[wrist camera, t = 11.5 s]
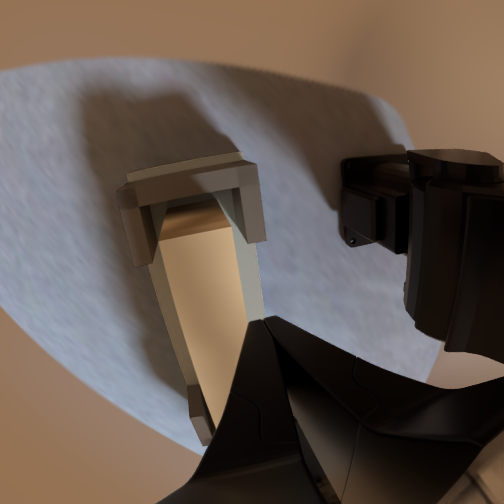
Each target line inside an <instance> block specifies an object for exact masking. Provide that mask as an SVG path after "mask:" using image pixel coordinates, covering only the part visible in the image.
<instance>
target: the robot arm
mask: <svg viewBox="0 0 504 504" xmlns="http://www.w3.org/2000/svg"><path fill="white" fill-rule="evenodd" d="M407 160H409V162H408V161H407ZM348 162H349V163H350V167H349V168H347V163H348ZM341 174H342V189H341V207H342V223H343V224H344V228H345V243H346V244H347V245H348V246H349V247H358V246H362V245H367V244H371V243H375V242H377V243H378V244H380V245H382V246H383V247H385V248H387V249H388V250H390V251H392V252H393V253H395V254H403V255H405V256H407V270H406V282H404V304H405V309H406V311H407V312H408V314H409V315H410V316H411V317H412V319H413V320H414V321H415V327H416V329H418V330H419V331H420V332H422V333H424V334H425V335H427V336H429V337H431V338H433V339H436V340H438V341H442V342H445V346H444V351H446V352H467V353H473V354H479V355H482V356H485V357H488V358H490V359H493V360H495V361H498V362H500V363H503V364H504V163H503V162H501V161H500V160H498V159H496V158H495V157H494V156H492V155H490V154H489V153H486V152H480V151H472V150H463V149H426V150H407V153H406V154H389V155H375V156H362V157H351V158H345V159H343V160H342V162H341ZM352 238H354V240H353V242H350V241H351V239H352ZM292 411H293V413H294V415H295V417H296V419H297V421H298V423H299V425H300V427H301V429H302V431H303V433H304V435H305V436H306V438H307V440H308V442H309V444H310V446H311V448H312V450H313V452H314V453H315V455H316V457H317V459H318V461H319V463H320V465H321V466H322V468H323V470H324V472H325V474H326V476H327V478H328V479H329V481H330V483H331V485H332V487H333V488H334V490H335V492H336V494H337V496H338V498H339V499H340V501H342V502H341V503H342V504H504V376H503V377H500V378H497V379H494V380H490V381H487V382H483V383H480V384H476V385H472V386H469V387H465V388H460V389H443V388H439V387H435V386H432V385H429V384H426V383H423V382H420V381H417V380H414V379H411V378H408V377H405V376H402V375H399V374H396V373H393V372H391V371H388V370H385V369H383V368H380V367H378V366H376V365H374V364H371V363H369V362H367V361H365V360H363V359H361V358H359V357H356V356H355V355H352V354H350V353H348V352H346V351H344V350H342V349H340V348H338V347H336V346H334V345H332V344H330V343H328V342H326V341H324V340H323V339H321V338H319V337H317V336H315V335H313V334H311V333H309V332H307V331H305V330H303V329H301V328H299V327H297V326H295V325H293V324H292V323H290V322H288V321H286V320H284V319H282V318H280V317H278V316H270V317H266V318H264V319H263V320H262V319H258V320H253V321H249V323H248V325H247V329H246V333H245V337H244V340H243V344H242V348H241V351H240V355H239V359H238V363H237V366H236V370H235V374H234V377H233V381H232V384H231V388H230V393H229V395H228V398H227V402H226V405H225V408H224V411H223V414H222V417H221V419H220V422H219V424H218V426H217V429H216V431H215V433H214V435H213V437H212V439H211V441H210V443H209V445H208V447H207V449H206V451H205V453H204V455H203V457H202V459H201V461H200V463H199V466H198V467H197V469H196V471H195V472H194V474H193V475H192V477H191V478H190V479H189V480H188V482H187V483H185V484H184V485H183V486H182V487H180V488H179V489H177V490H176V491H174V492H173V493H171V494H170V495H168V496H167V497H165V498H164V499H162V500H161V501H159V502H157V503H156V504H327V503H326V501H325V499H324V497H323V496H322V494H321V492H320V490H319V488H318V486H317V484H316V482H315V480H314V478H313V476H312V474H311V472H310V470H309V468H308V466H307V464H306V462H305V459H304V456H303V452H302V449H301V445H300V441H299V437H298V433H297V429H296V425H295V421H294V417H293V413H292Z"/></svg>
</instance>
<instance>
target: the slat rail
mask: <svg viewBox="0 0 504 504" xmlns="http://www.w3.org/2000/svg"><path fill="white" fill-rule="evenodd" d="M127 179H128V183H127V184H125V185H124V186H123V187H121V188H120V189H118V190H117V191H116V196H117V200H118V205H119V209H120V214H121V218H122V222H123V226H124V230H125V234H126V238H127V242H128V245H129V249H130V253H131V256H132V260H133V264H134V267H138V266H143V265H148V268H149V272H150V275H151V279H152V282H153V286H154V289H155V293H156V296H157V299H158V303H159V306H160V309H161V312H162V315H163V319H164V322H165V325H166V328H167V331H168V334H169V337H170V340H171V343H172V346H173V349H174V351H175V354H176V357H177V360H178V363H179V365H180V368H181V371H182V374H183V376H184V379H185V382H186V384H187V391H188V404H189V416H190V420H191V422H192V424H193V426H194V429H195V431H196V433H197V435H198V437H199V439H200V441H201V443H202V445H203V446H208V445H209V443H210V441H211V439H212V437H213V435H214V433H215V431H216V427H215V424H214V422H213V419H212V416H211V414H210V411H209V408H208V406H207V403H206V400H205V397H204V395H203V392H202V389H201V386H200V383H199V380H198V377H197V374H196V371H195V368H194V365H193V362H192V359H191V356H190V353H189V350H188V347H187V344H186V340H185V337H184V334H183V331H182V327H181V324H180V321H179V317H178V314H177V310H176V307H175V303H174V300H173V296H172V293H171V289H170V285H169V281H168V278H167V274H166V270H165V266H164V262H163V258H162V254H161V250H160V246H159V242H158V241H159V237H160V233H161V229H162V225H163V221H164V218H165V214H166V210H167V208H170V207H175V206H180V205H185V204H190V203H195V202H200V201H206V200H211V199H217V201H218V203H219V205H220V206H221V208H222V210H223V212H224V214H225V216H226V217H227V219H228V221H229V223H230V225H231V226H232V232H233V238H234V244H235V250H236V257H237V263H238V269H239V275H240V281H241V287H242V293H243V299H244V305H245V311H246V316H247V322H248V323H249V321H253V320H258V319H262V320H263V319H264V318H266V317H265V310H264V302H263V295H262V288H261V280H260V273H259V266H258V258H257V251H256V244H255V243H257V242H262V241H267V239H266V231H265V223H264V215H263V208H262V200H261V192H260V184H259V177H258V169H257V164H256V163H252V162H249V161H246V160H244V158H243V152H240V151H239V152H233V153H226V154H220V155H214V156H208V157H203V158H197V159H192V160H186V161H181V162H176V163H171V164H166V165H162V166H157V167H152V168H148V169H144V170H139V171H135V172H131V173H128V174H127Z"/></svg>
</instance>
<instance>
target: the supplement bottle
mask: <svg viewBox="0 0 504 504" xmlns="http://www.w3.org/2000/svg"><path fill="white" fill-rule="evenodd" d="M294 421H295V425H296V429H297V433H298V437H299V441H300V445H301V449H302V452H303V456H304V459H305V462H306V464H307V466H308V468H309V470H310V472H311V474H312V476H313V478H314V480H315V482H316V484H317V486H318V488H319V490H320V492H321V494H322V496H323V497H324V499H325V501H326V503H327V504H342V503H341V502H342V501H340V499H339V498H338V496H337V494H336V492H335V490H334V488H333V487H332V485H331V483H330V481H329V479H328V478H327V476H326V474H325V472H324V470H323V468H322V466H321V465H320V463H319V461H318V459H317V457H316V455H315V453H314V452H313V450H312V448H311V446H310V444H309V442H308V440H307V438H306V436H305V435H304V433H303V431H302V429H301V427H300V425H299V423H298V421H297V419H296V418H294Z"/></svg>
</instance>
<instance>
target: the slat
mask: <svg viewBox="0 0 504 504" xmlns="http://www.w3.org/2000/svg"><path fill="white" fill-rule="evenodd" d="M158 242H159V246H160V250H161V254H162V258H163V262H164V266H165V270H166V274H167V278H168V281H169V285H170V289H171V293H172V296H173V300H174V303H175V307H176V310H177V314H178V317H179V321H180V324H181V327H182V331H183V334H184V337H185V340H186V344H187V347H188V350H189V353H190V356H191V359H192V362H193V365H194V368H195V371H196V374H197V377H198V380H199V383H200V386H201V389H202V392H203V395H204V397H205V400H206V403H207V406H208V408H209V411H210V414H211V416H212V419H213V422H214V424H215V427H216V429H217V426H218V424H219V422H220V419H221V417H222V414H223V411H224V408H225V405H226V402H227V398H228V395H229V393H230V388H231V384H232V381H233V377H234V374H235V370H236V366H237V363H238V359H239V355H240V351H241V348H242V344H243V340H244V337H245V333H246V329H247V325H248V322H247V316H246V311H245V305H244V299H243V293H242V287H241V281H240V275H239V269H238V263H237V257H236V250H235V244H234V238H233V232H232V226H231V225H230V223H229V221H228V219H227V217H226V216H225V214H224V212H223V210H222V208H221V206H220V205H219V203H218V201H217V199H211V200H206V201H200V202H195V203H190V204H185V205H180V206H175V207H170V208H167V210H166V214H165V218H164V221H163V225H162V229H161V233H160V237H159V241H158Z"/></svg>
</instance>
